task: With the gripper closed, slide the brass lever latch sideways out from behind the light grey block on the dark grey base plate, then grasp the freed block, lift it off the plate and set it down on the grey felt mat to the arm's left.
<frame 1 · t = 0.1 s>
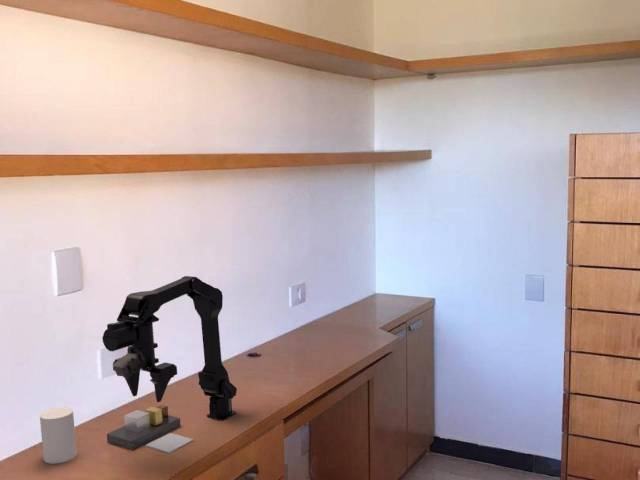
hand: (146, 398, 174), 14 cm above the table, fingers open, 9 cm apart
felt mat: (169, 443, 180), on the table
light grey block: (137, 427, 185), point 2 cm above the table, touching dark grey base plate
cup: (60, 457, 174), on the table
latch: (153, 416, 187), point 5 cm above the table, slide at 0.0 cm
dark grey base plate: (144, 434, 187), on the table
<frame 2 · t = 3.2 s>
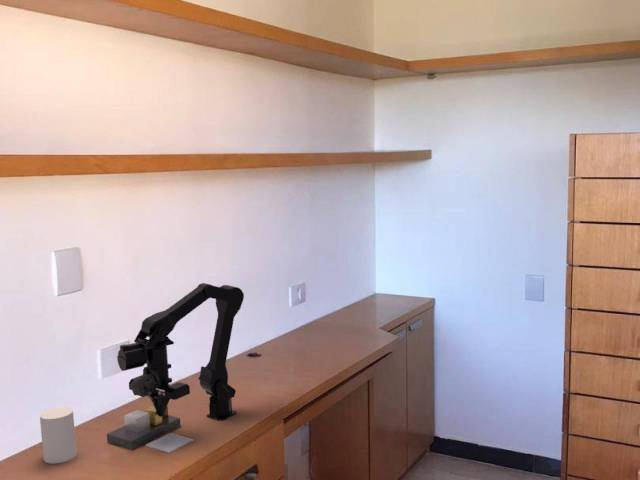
hand: (160, 416, 186), 5 cm above the table, fingers closed
latch: (153, 415, 187), point 5 cm above the table, slide at 0.1 cm, touching gripper
everything else where it was.
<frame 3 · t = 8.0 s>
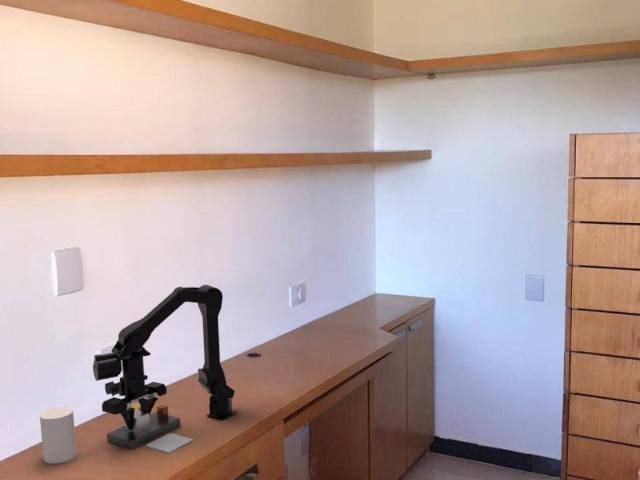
hand: (137, 426, 185), 3 cm above the table, fingers closed on light grey block, 4 cm apart
light grey block: (137, 427, 185), point 2 cm above the table, touching gripper, dark grey base plate
latch: (137, 411, 191), point 5 cm above the table, slide at 6.8 cm
everything else where it was.
when the fingers open (2 cm above the table, at t = 12.1 s): light grey block stays where it is, resting on felt mat.
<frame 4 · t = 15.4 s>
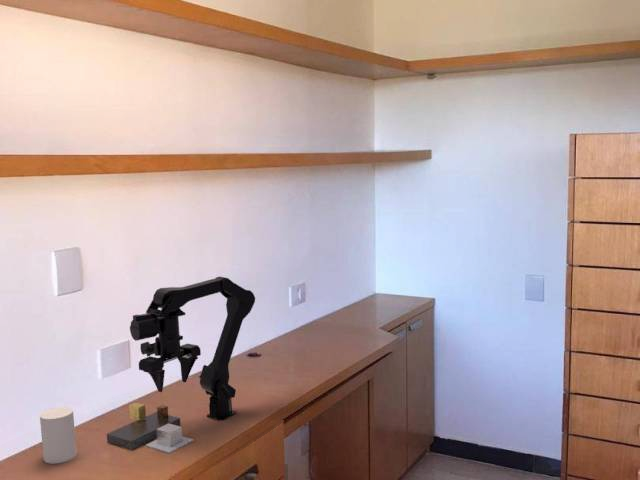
hand: (172, 386, 187), 13 cm above the table, fingers open, 9 cm apart
light grey block: (169, 442, 180), resting on felt mat
everything else where it was.
at the end: latch slide at 6.8 cm; light grey block inside the target area on the felt mat (0.1 cm from its centre), point 0.4 cm above the felt mat's base; light grey block tilted 0° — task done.
